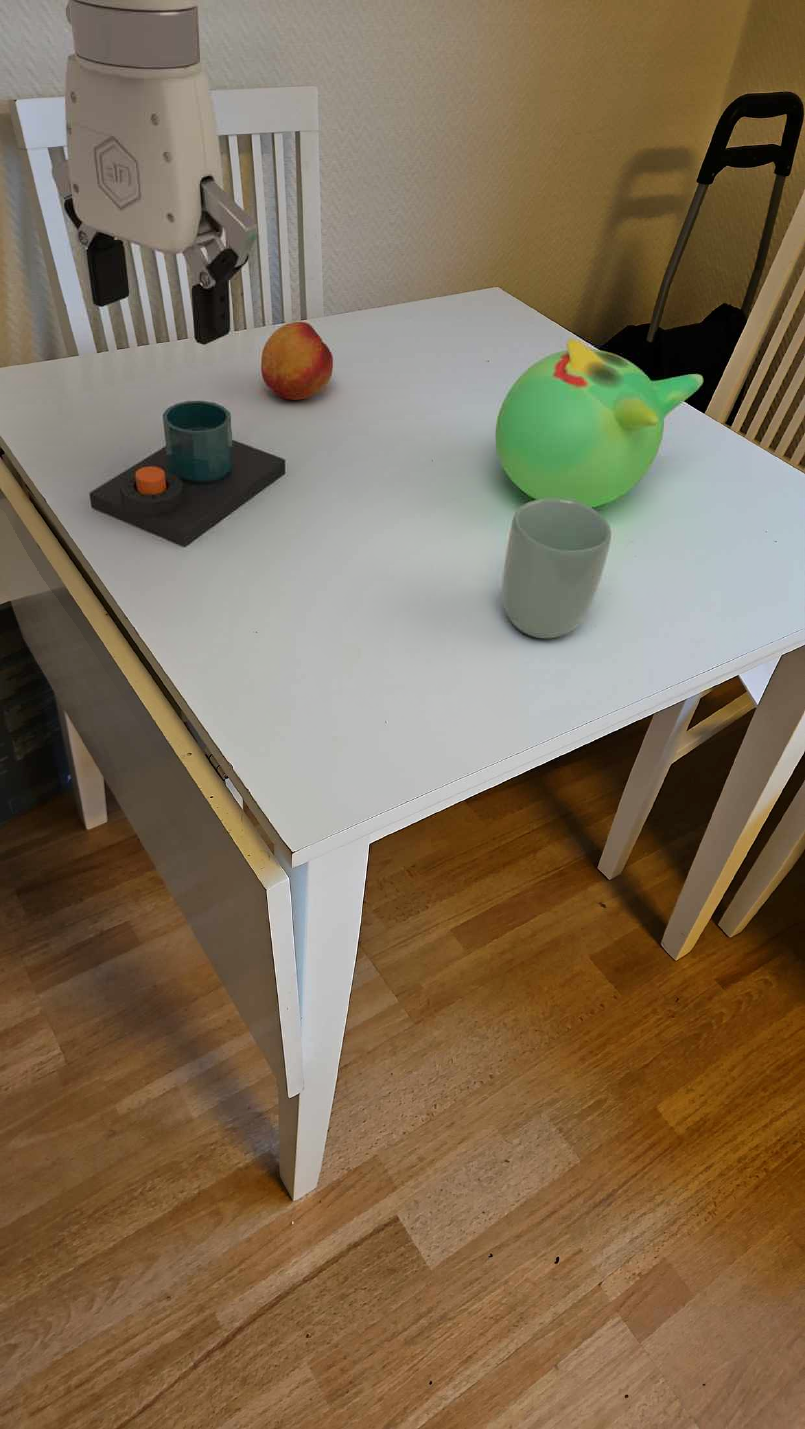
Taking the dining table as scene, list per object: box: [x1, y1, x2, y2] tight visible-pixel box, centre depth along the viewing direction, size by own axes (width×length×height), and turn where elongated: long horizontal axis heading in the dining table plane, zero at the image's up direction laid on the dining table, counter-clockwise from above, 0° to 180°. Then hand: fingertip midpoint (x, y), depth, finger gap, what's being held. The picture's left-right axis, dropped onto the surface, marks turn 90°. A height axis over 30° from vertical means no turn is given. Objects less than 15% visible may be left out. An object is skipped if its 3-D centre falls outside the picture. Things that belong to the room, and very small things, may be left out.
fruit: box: [260, 321, 334, 401], centre depth 106 cm, size 8×8×8 cm
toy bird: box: [495, 338, 704, 508], centre depth 93 cm, size 18×17×15 cm
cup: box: [501, 498, 612, 639], centre depth 79 cm, size 8×8×10 cm
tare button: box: [135, 467, 166, 495], centre depth 87 cm, size 3×3×2 cm
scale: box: [88, 439, 286, 548], centre depth 92 cm, size 16×11×3 cm
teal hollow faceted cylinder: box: [162, 400, 233, 483], centre depth 91 cm, size 6×6×6 cm
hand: (161, 319), depth 70 cm, fingers open, 9 cm apart
